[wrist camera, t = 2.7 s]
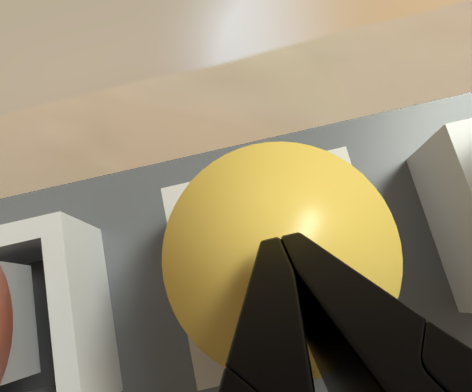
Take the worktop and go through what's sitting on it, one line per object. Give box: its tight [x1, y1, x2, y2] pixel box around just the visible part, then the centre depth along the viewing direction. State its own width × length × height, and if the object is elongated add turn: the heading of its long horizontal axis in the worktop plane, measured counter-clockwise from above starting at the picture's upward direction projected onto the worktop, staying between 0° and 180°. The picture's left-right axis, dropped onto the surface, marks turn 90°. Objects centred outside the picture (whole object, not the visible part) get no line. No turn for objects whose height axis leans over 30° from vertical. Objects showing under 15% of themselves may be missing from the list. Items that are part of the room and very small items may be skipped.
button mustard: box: [162, 141, 403, 380], centre depth 11 cm, size 5×5×4 cm
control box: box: [0, 92, 472, 392], centre depth 14 cm, size 9×26×7 cm, turn 103°
